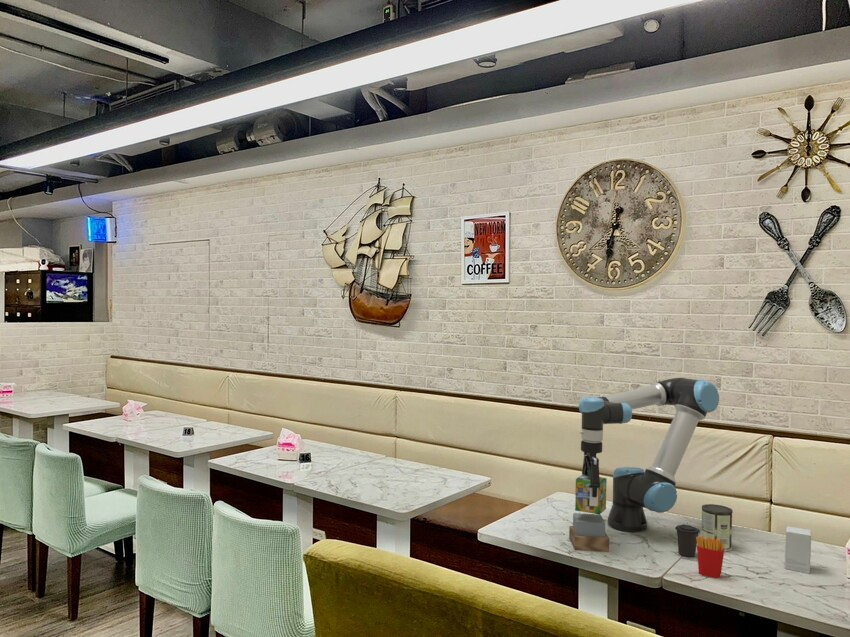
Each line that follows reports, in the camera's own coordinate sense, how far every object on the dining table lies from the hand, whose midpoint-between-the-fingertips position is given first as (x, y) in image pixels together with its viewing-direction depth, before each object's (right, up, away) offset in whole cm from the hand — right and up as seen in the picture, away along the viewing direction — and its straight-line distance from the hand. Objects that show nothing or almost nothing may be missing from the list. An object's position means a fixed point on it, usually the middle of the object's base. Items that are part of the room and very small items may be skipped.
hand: (589, 500), depth 226 cm
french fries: (+32, -17, -24) cm, 44 cm away
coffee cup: (+32, -17, -7) cm, 37 cm away
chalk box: (0, -4, 0) cm, 3 cm away
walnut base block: (0, -16, 0) cm, 16 cm away
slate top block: (0, -11, +1) cm, 11 cm away
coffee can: (+47, -18, +2) cm, 50 cm away
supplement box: (+66, -18, -16) cm, 70 cm away
